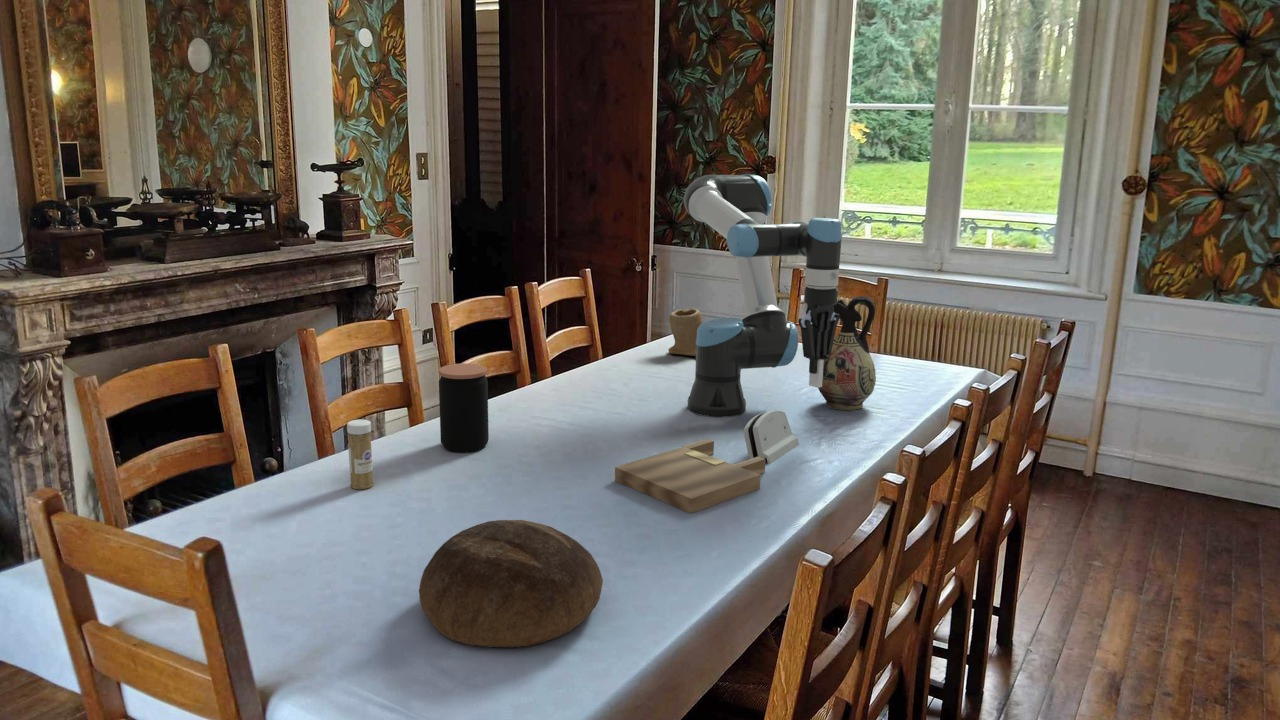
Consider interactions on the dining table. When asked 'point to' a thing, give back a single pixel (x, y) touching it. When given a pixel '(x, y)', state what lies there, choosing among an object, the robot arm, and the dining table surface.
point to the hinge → (769, 436)
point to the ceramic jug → (849, 360)
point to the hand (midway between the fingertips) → (815, 385)
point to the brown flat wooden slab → (691, 476)
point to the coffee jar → (463, 407)
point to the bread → (509, 584)
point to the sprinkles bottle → (360, 454)
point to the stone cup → (685, 331)
